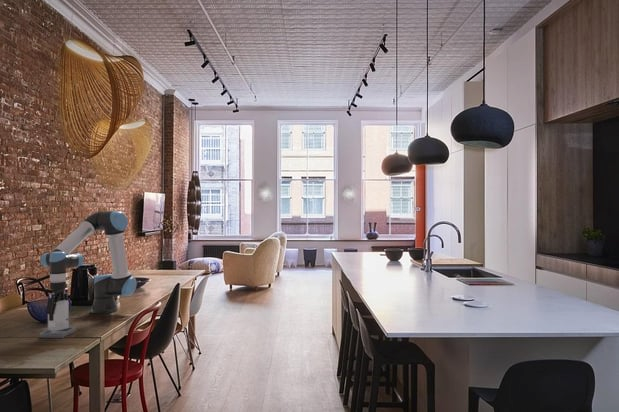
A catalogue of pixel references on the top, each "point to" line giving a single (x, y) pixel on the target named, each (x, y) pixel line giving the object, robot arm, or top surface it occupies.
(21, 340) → the top surface
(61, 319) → the skincare box
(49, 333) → the tray
